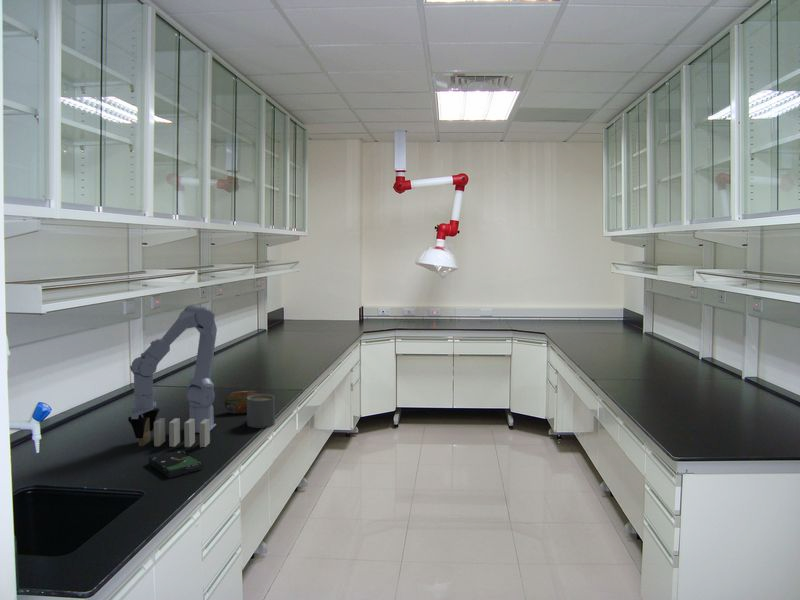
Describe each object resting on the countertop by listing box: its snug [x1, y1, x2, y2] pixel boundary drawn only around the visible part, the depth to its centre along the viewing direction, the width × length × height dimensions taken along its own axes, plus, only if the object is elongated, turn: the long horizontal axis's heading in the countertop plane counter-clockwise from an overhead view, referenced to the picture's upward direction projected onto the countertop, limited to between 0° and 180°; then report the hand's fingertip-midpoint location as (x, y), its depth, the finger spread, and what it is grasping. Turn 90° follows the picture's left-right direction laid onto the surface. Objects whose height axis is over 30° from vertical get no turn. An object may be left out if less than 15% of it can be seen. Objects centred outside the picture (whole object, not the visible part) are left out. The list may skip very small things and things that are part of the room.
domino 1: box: [153, 417, 166, 447], centre depth 201 cm, size 2×5×8 cm, turn 179°
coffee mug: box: [246, 393, 276, 429], centre depth 227 cm, size 13×10×10 cm
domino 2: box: [168, 417, 181, 448], centre depth 201 cm, size 2×5×8 cm, turn 179°
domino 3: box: [183, 418, 196, 448], centre depth 201 cm, size 2×5×8 cm, turn 179°
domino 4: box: [199, 419, 211, 448], centre depth 201 cm, size 2×5×8 cm, turn 179°
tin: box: [223, 390, 262, 415], centre depth 241 cm, size 15×3×8 cm, turn 111°
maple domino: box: [138, 418, 151, 447], centre depth 201 cm, size 2×5×8 cm, turn 0°
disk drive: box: [148, 449, 203, 479], centre depth 181 cm, size 10×3×15 cm
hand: (144, 434), depth 201 cm, fingers open, 7 cm apart
